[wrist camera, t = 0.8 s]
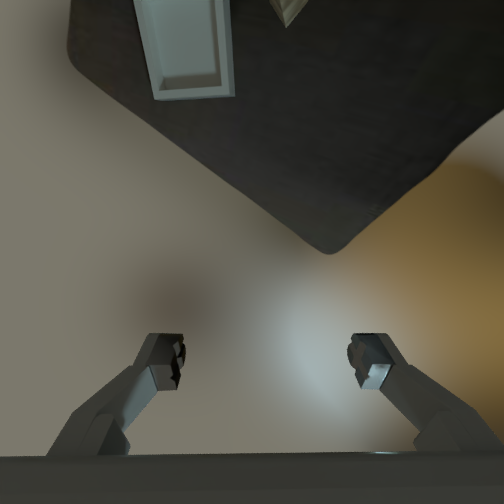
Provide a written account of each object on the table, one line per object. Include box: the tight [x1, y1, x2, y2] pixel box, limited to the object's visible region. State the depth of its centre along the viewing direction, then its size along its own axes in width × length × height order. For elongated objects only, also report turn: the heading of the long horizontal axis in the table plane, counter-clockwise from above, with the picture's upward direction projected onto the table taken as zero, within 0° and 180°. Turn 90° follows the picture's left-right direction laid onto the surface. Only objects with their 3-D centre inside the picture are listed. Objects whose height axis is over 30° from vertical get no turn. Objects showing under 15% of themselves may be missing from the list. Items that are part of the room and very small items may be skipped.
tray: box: [133, 0, 235, 101], centre depth 36 cm, size 14×14×4 cm
